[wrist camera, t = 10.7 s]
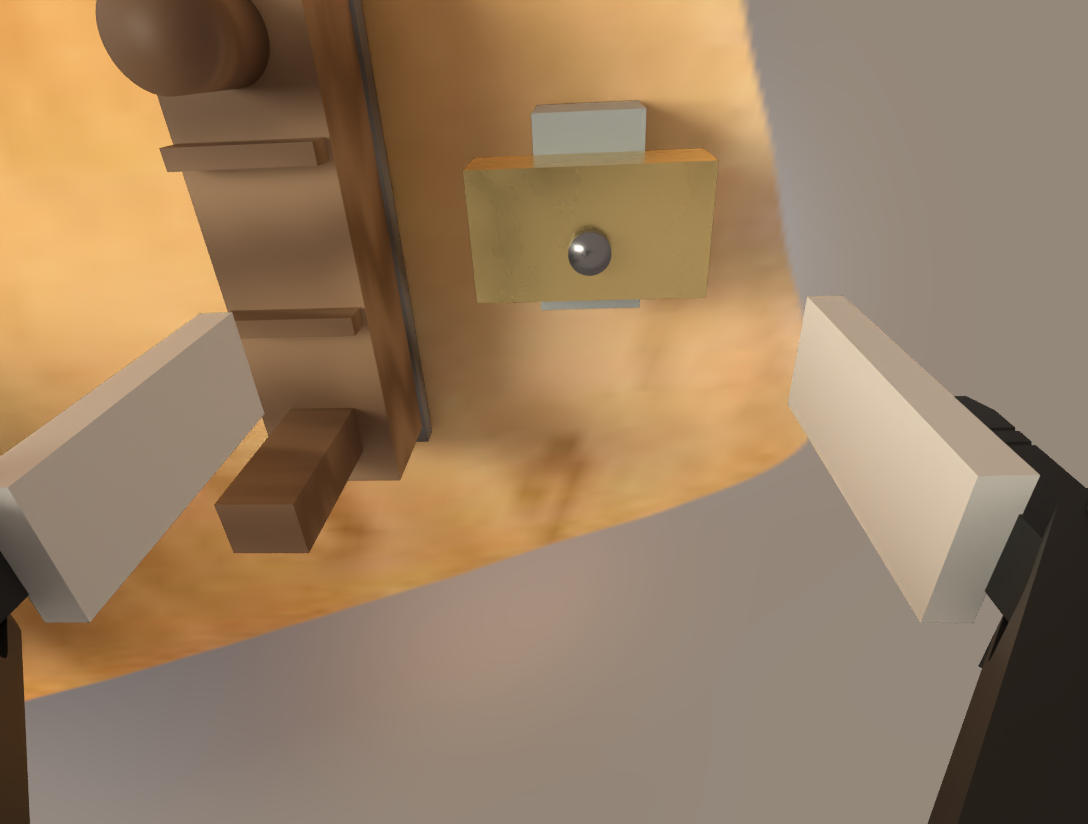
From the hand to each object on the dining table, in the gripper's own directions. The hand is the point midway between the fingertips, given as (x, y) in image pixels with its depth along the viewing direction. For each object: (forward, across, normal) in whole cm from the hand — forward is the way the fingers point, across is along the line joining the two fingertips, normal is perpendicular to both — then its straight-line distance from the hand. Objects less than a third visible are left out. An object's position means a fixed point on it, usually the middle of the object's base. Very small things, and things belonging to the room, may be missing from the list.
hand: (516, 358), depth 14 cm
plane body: (+17, -10, -1) cm, 20 cm away
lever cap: (+13, +2, 0) cm, 13 cm away
